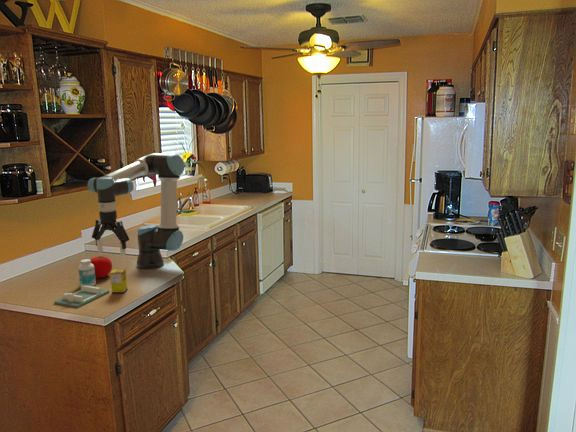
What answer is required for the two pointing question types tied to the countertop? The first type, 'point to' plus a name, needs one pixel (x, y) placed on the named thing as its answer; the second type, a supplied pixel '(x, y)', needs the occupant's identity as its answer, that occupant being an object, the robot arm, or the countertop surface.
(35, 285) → the countertop surface
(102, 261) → the tomato
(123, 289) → the supplement box
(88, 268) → the pill bottle
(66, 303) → the board
